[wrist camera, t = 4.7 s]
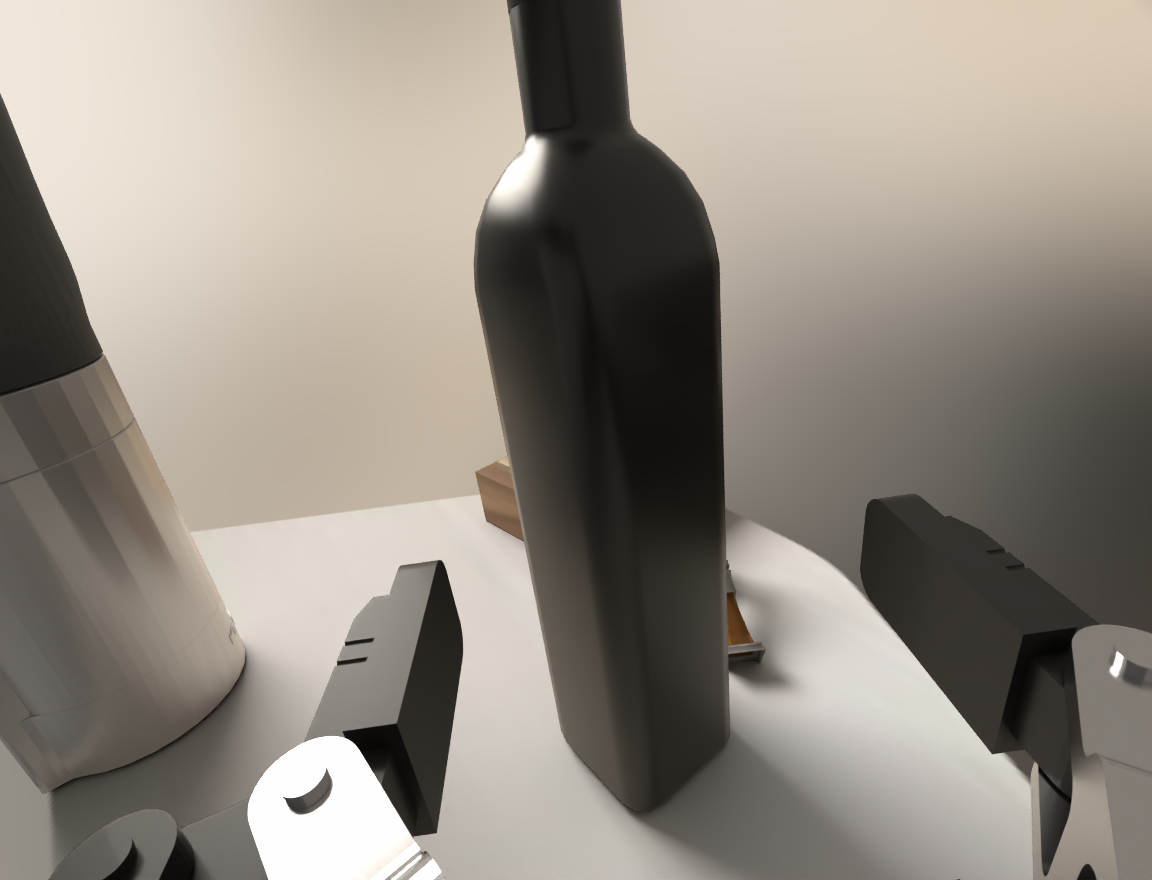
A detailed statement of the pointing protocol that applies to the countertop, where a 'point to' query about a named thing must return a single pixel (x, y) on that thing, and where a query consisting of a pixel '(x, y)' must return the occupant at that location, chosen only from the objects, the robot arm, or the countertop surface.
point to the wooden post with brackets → (739, 630)
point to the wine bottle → (610, 407)
